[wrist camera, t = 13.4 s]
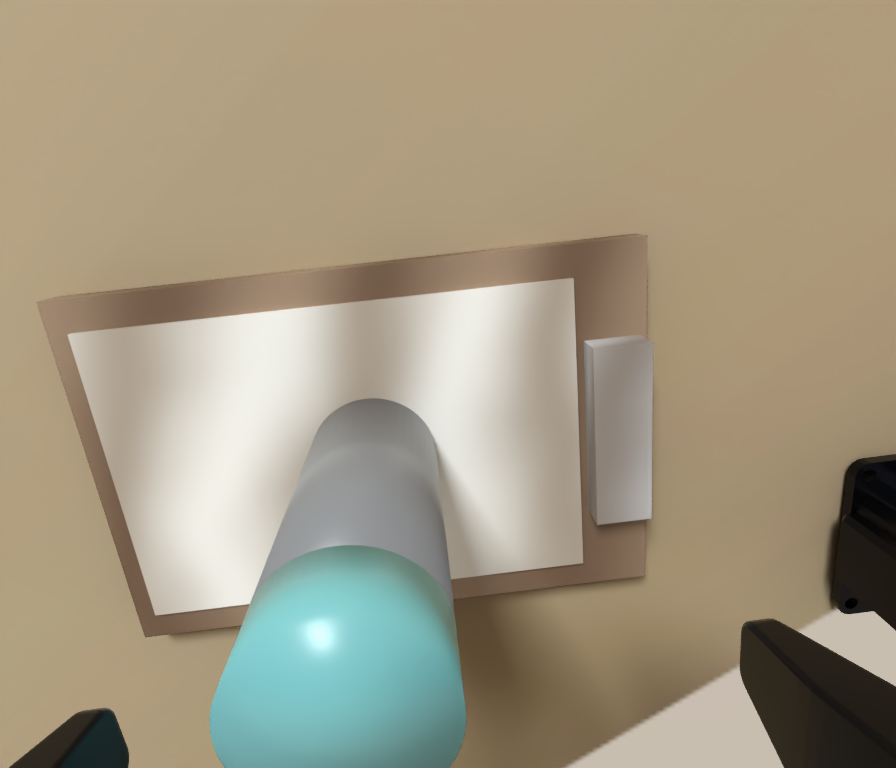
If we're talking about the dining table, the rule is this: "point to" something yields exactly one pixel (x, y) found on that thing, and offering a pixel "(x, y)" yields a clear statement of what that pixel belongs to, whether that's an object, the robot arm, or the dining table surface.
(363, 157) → the dining table surface
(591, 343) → the clipboard
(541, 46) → the dining table surface
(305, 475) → the marker
